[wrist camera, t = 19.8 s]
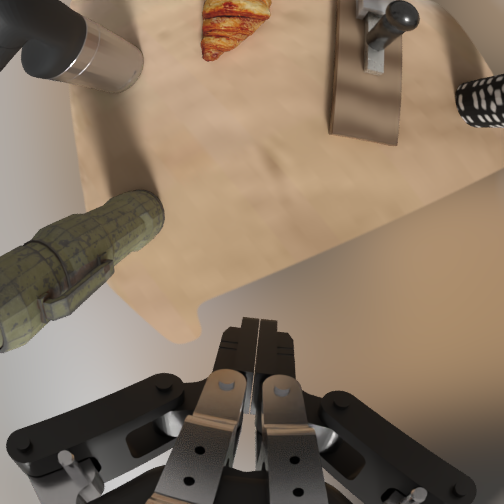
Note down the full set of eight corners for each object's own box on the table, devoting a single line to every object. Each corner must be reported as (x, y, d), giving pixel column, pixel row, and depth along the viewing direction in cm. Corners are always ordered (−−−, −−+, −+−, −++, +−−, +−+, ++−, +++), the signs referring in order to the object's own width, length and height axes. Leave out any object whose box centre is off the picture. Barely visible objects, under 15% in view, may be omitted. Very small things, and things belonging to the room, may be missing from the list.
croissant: (251, -26, 36) (227, -50, 29) (301, -24, 32) (279, -54, 25) (200, 65, 42) (167, 47, 35) (247, 75, 38) (215, 52, 31)
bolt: (384, 77, 35) (427, 52, 22) (358, 71, 35) (393, 41, 22) (384, 11, 31) (419, -28, 18) (359, 5, 31) (388, -39, 18)
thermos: (109, 189, 47) (-64, 264, 14) (172, 188, 46) (3, 279, 14) (113, 238, 50) (-33, 351, 17) (174, 241, 49) (43, 387, 17)
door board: (390, 145, 42) (409, 146, 34) (329, 134, 42) (339, 131, 35) (394, 6, 33) (410, -12, 26) (336, -9, 33) (345, -30, 26)
